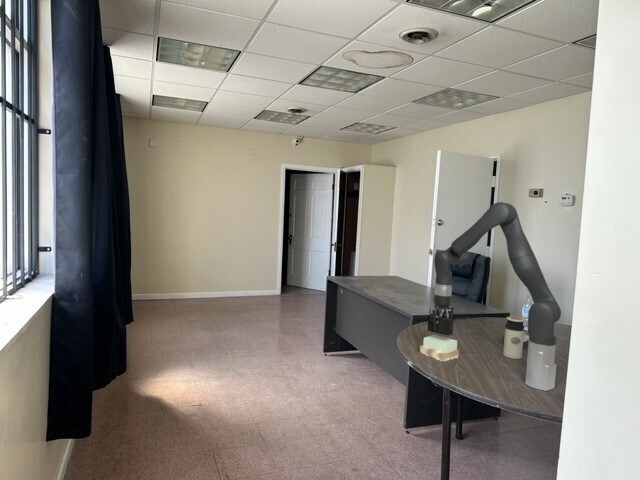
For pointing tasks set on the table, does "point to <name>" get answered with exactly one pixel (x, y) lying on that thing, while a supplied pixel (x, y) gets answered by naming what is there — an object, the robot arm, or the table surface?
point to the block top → (440, 343)
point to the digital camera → (442, 326)
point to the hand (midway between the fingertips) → (440, 329)
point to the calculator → (525, 341)
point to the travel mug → (513, 338)
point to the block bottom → (439, 354)
